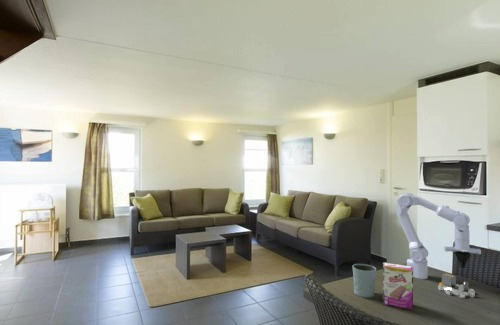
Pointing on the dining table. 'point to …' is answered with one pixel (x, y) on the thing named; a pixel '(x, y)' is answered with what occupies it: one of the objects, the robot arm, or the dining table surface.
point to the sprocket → (458, 290)
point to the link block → (448, 280)
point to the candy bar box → (398, 285)
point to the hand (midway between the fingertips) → (462, 267)
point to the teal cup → (364, 280)
